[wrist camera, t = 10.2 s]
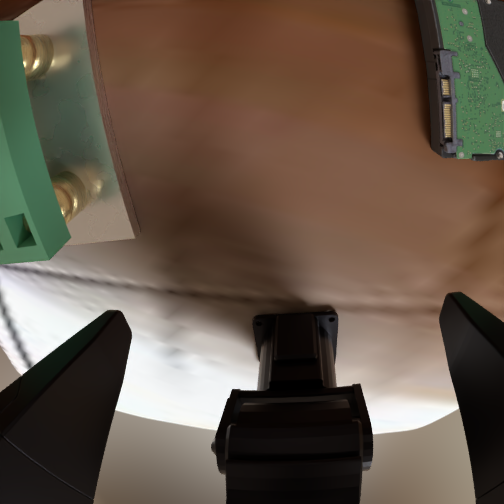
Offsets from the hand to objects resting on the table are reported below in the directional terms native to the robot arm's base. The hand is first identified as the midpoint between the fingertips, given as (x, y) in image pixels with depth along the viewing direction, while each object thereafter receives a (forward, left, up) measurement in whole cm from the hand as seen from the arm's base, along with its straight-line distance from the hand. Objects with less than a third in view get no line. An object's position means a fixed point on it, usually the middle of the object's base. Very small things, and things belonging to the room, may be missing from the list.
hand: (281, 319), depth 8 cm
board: (+6, +16, -8) cm, 19 cm away
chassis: (+6, +16, -12) cm, 21 cm away
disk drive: (+6, -16, -13) cm, 22 cm away
